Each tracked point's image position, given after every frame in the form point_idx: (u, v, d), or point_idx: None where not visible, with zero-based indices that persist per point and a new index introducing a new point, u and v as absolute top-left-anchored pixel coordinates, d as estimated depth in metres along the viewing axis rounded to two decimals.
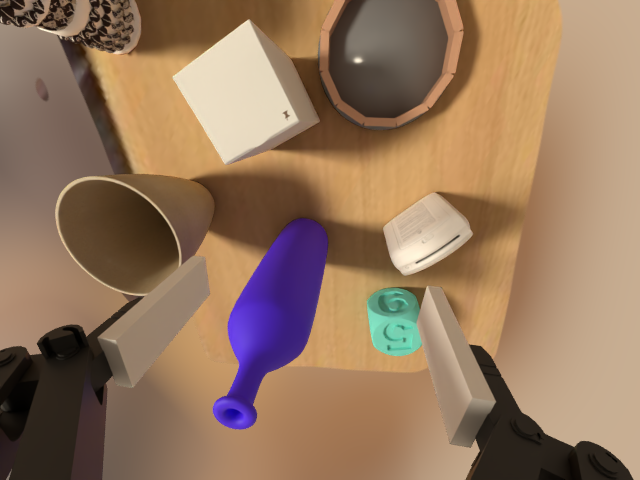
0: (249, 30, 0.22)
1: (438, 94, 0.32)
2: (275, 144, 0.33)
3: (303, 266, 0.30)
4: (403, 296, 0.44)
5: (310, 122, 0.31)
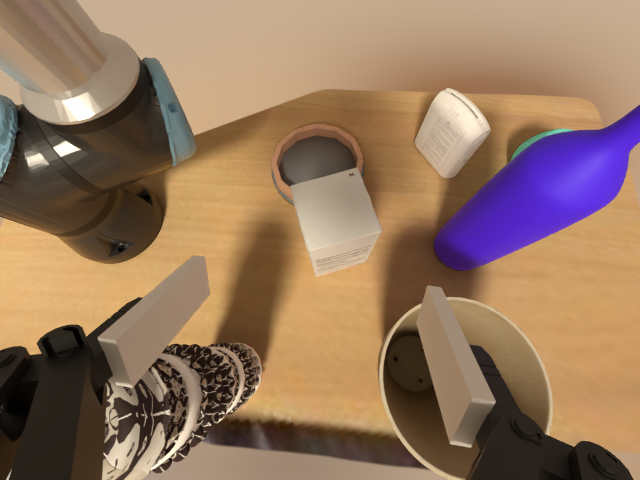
0: (296, 186, 0.32)
1: (347, 134, 0.49)
2: None
3: (485, 184, 0.31)
4: None
5: None
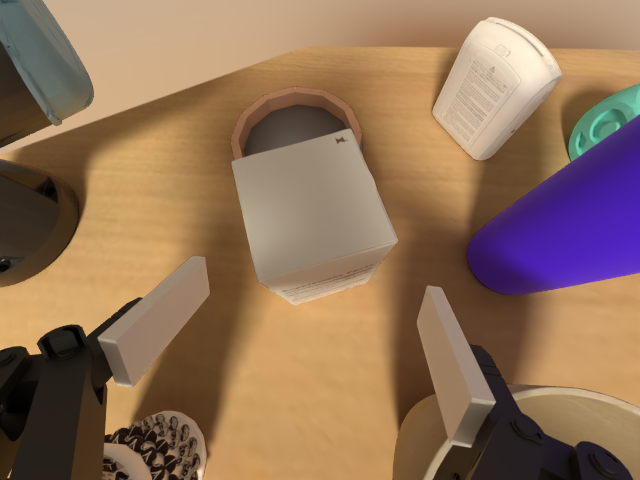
0: (241, 162, 0.18)
1: (339, 100, 0.35)
2: None
3: (586, 152, 0.17)
4: (585, 129, 0.32)
5: None
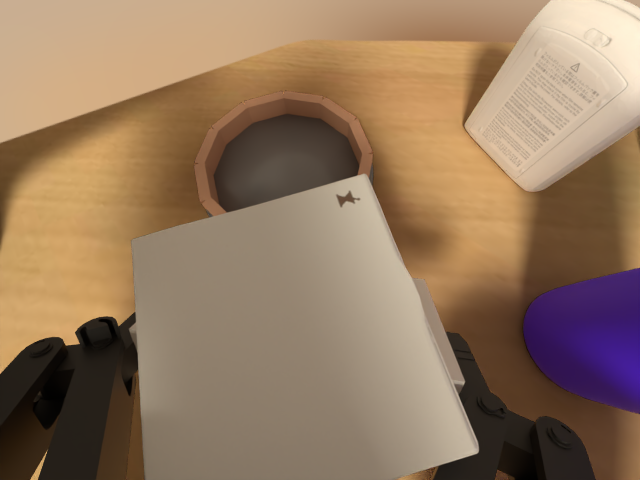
0: (149, 242, 0.09)
1: (342, 109, 0.26)
2: None
3: None
4: None
5: None
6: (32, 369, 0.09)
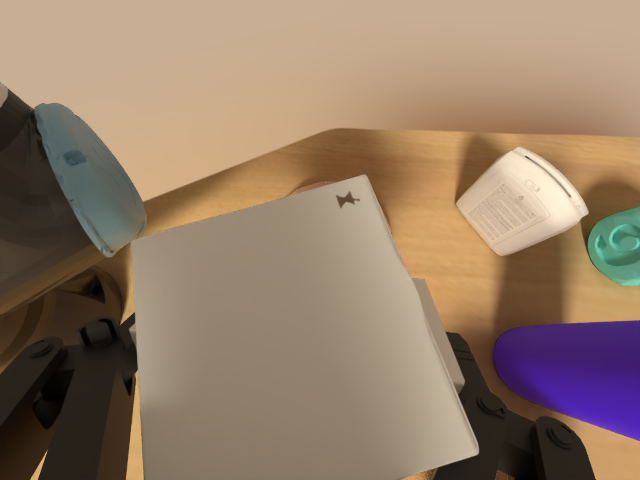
0: (149, 243, 0.09)
1: None
2: None
3: (621, 337, 0.19)
4: (604, 234, 0.33)
5: None
6: (32, 369, 0.09)
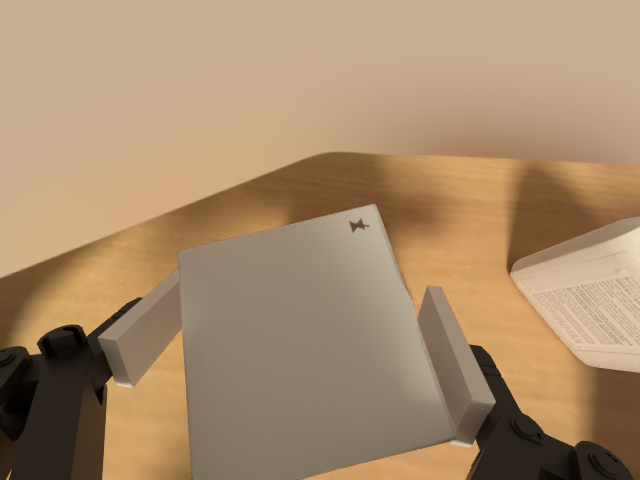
0: (193, 255, 0.11)
1: None
2: None
3: None
4: None
5: None
6: None
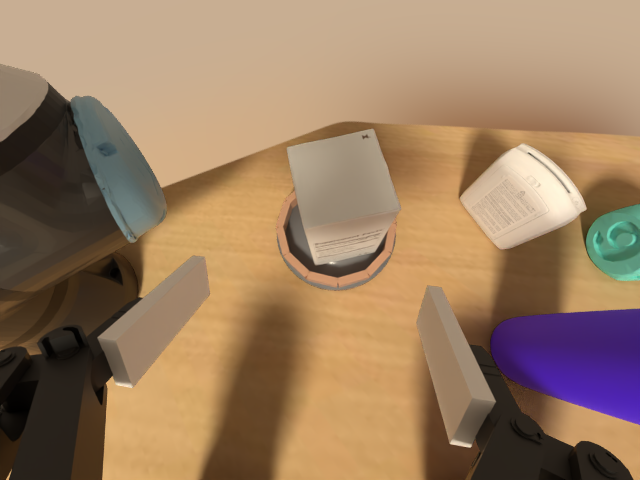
0: (294, 148, 0.25)
1: None
2: None
3: (608, 324, 0.20)
4: (602, 230, 0.34)
5: None
6: None
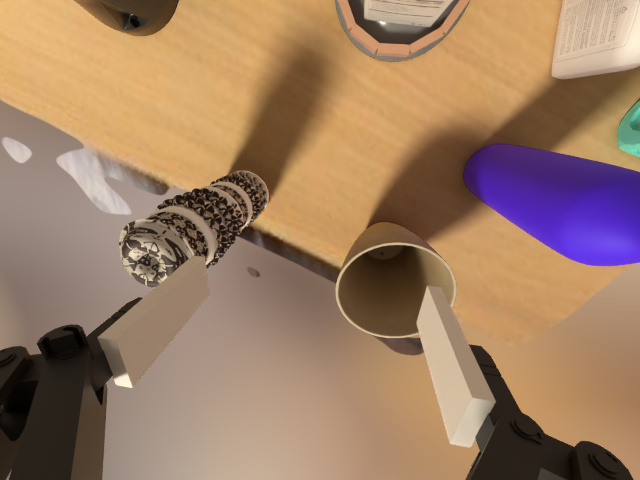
0: None
1: None
2: None
3: (551, 159, 0.26)
4: None
5: None
6: None
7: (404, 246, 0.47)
